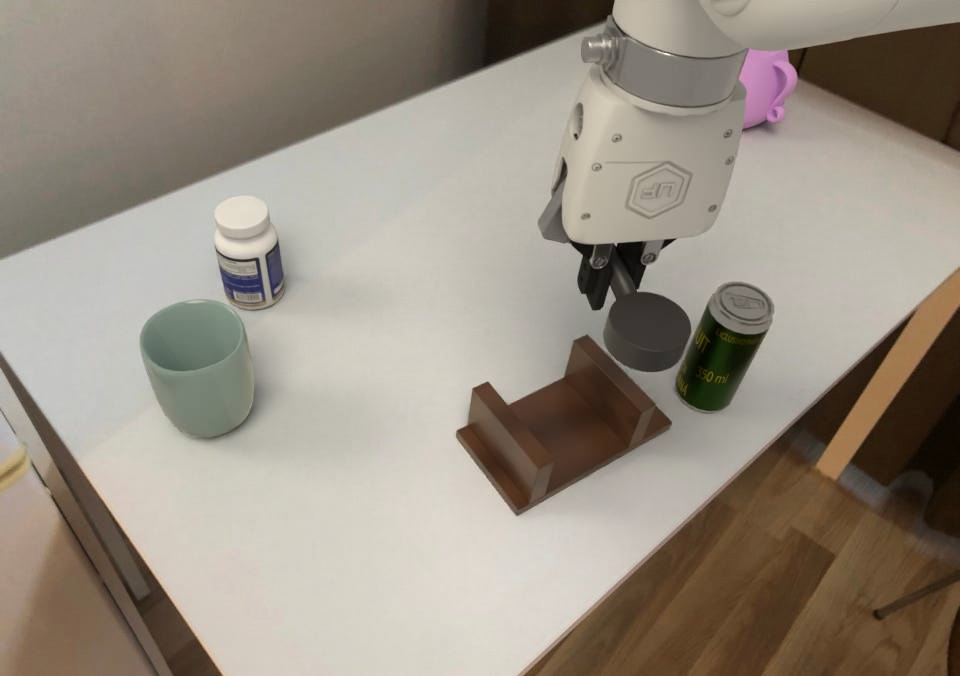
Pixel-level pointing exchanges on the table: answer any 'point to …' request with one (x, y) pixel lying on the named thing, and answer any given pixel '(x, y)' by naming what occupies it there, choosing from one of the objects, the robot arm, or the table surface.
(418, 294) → the table surface
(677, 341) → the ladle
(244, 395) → the cup
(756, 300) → the beer can
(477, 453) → the rack
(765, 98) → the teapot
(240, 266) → the pill bottle
